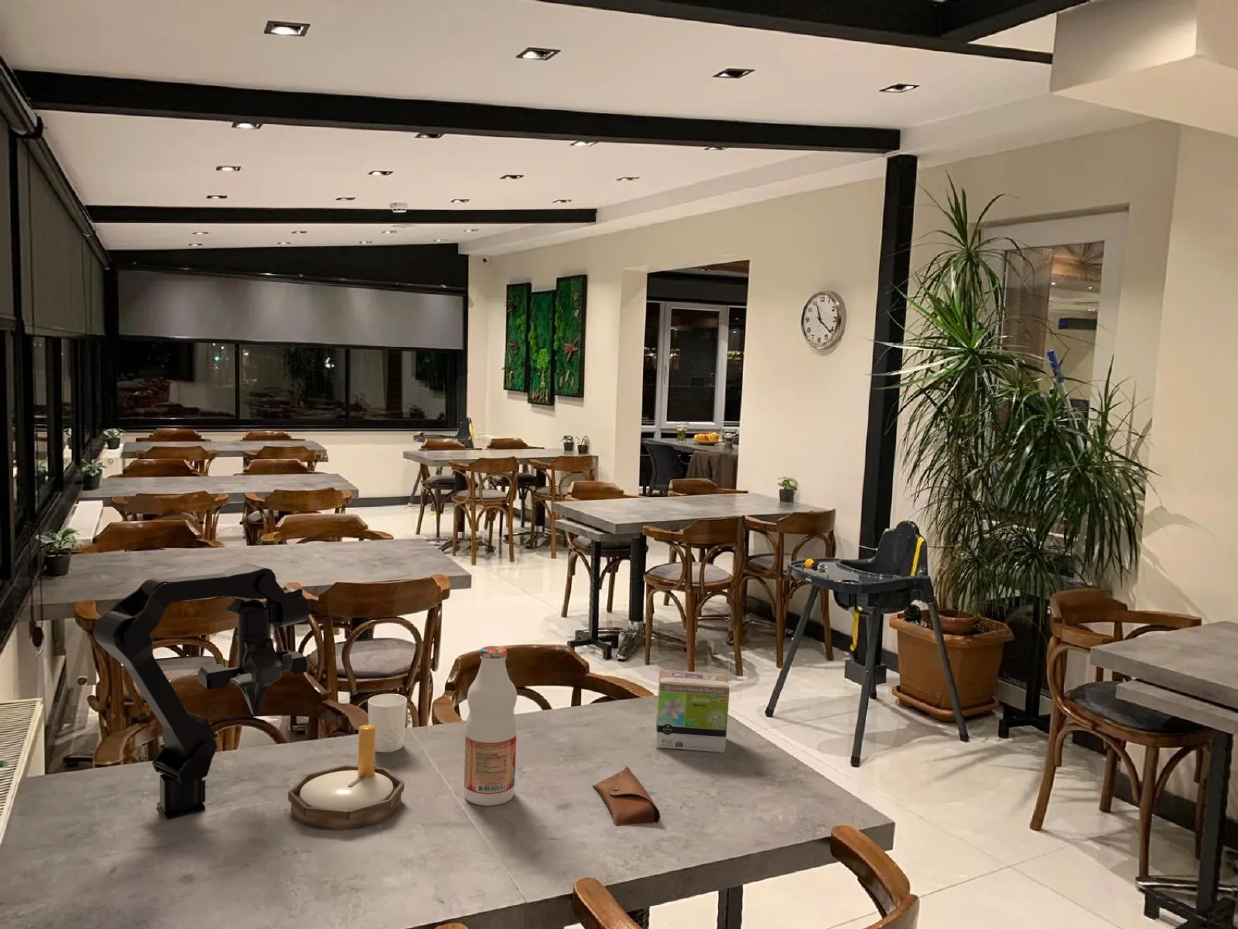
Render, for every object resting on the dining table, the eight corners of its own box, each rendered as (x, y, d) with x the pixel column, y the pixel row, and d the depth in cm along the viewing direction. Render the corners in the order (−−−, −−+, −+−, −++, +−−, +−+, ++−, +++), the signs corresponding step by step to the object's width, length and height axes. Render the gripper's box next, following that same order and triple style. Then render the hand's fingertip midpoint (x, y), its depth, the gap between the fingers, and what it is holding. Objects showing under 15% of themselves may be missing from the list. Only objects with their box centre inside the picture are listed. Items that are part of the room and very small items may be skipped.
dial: (284, 808, 165) (284, 753, 164) (323, 771, 180) (323, 720, 180) (373, 817, 163) (374, 761, 162) (405, 778, 179) (406, 727, 178)
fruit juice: (453, 794, 178) (457, 647, 176) (493, 781, 185) (497, 639, 182) (484, 812, 171) (489, 659, 169) (524, 797, 178) (529, 650, 176)
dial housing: (316, 841, 158) (316, 819, 158) (274, 799, 173) (275, 779, 173) (419, 811, 171) (420, 791, 170) (372, 774, 185) (373, 756, 185)
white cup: (400, 755, 195) (401, 707, 194) (362, 753, 196) (363, 705, 195) (409, 740, 203) (410, 694, 202) (373, 738, 203) (373, 692, 202)
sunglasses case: (588, 784, 185) (606, 754, 185) (617, 799, 187) (635, 769, 187) (615, 827, 168) (635, 794, 168) (647, 843, 170) (666, 810, 170)
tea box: (655, 750, 204) (658, 682, 202) (655, 732, 214) (658, 668, 212) (726, 754, 203) (730, 686, 202) (722, 736, 213) (726, 671, 212)
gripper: (216, 651, 165) (217, 738, 167) (320, 635, 177) (320, 716, 179) (196, 636, 174) (197, 719, 175) (297, 621, 186) (297, 699, 187)
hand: (254, 714), depth 179 cm, fingers closed
